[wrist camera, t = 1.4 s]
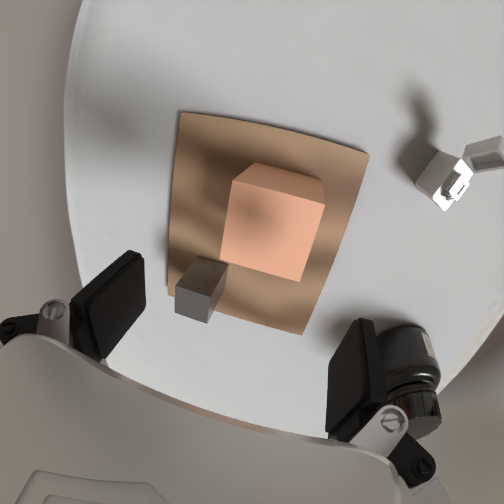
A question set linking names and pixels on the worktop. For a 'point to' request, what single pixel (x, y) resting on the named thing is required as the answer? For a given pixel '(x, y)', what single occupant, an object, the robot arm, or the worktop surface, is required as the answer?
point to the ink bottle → (412, 377)
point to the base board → (216, 204)
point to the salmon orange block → (272, 220)
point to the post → (200, 288)
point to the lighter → (459, 170)
